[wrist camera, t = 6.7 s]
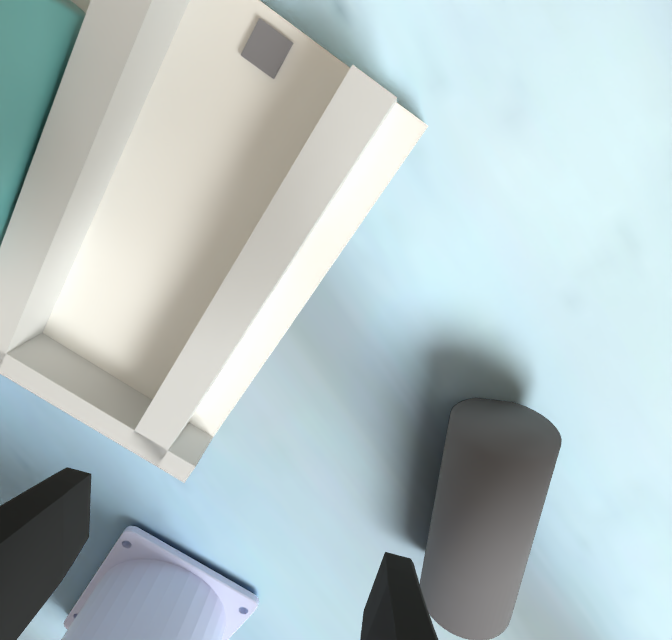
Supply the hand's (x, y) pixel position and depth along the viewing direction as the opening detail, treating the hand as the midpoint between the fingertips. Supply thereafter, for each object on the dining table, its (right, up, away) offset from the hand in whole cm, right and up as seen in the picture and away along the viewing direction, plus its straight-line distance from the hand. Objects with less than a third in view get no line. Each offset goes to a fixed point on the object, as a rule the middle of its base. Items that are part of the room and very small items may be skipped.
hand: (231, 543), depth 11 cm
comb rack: (-6, +11, +7) cm, 14 cm away
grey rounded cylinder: (+7, -2, +10) cm, 12 cm away
